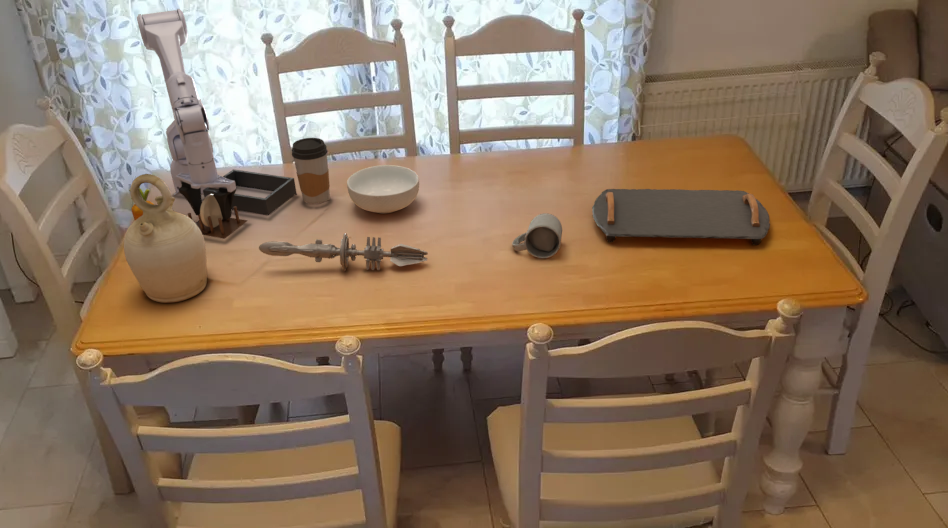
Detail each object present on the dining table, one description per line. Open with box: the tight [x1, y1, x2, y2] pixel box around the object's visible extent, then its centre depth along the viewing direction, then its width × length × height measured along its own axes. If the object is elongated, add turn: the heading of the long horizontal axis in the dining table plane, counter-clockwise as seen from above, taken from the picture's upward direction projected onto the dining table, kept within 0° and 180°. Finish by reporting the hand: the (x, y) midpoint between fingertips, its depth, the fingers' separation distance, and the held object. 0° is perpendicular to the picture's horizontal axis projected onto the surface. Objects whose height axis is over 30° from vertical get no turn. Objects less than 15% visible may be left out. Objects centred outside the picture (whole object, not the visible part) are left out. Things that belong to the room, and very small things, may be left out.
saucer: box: [200, 194, 223, 228], centre depth 192 cm, size 1×8×8 cm, turn 159°
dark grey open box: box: [203, 168, 298, 216], centre depth 205 cm, size 18×13×5 cm
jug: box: [123, 173, 208, 304], centre depth 168 cm, size 15×16×25 cm
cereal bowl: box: [346, 164, 420, 215], centre depth 200 cm, size 17×17×7 cm
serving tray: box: [591, 188, 771, 246], centre depth 189 cm, size 39×23×6 cm, turn 84°
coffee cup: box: [291, 137, 331, 205], centre depth 201 cm, size 8×8×15 cm
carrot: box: [128, 188, 155, 221], centre depth 184 cm, size 5×5×15 cm
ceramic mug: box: [511, 212, 563, 259], centre depth 181 cm, size 11×8×8 cm
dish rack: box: [187, 206, 248, 240], centre depth 194 cm, size 11×9×5 cm
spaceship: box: [258, 232, 428, 272], centre depth 176 cm, size 8×35×8 cm
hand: (213, 215), depth 193 cm, fingers open, 7 cm apart
